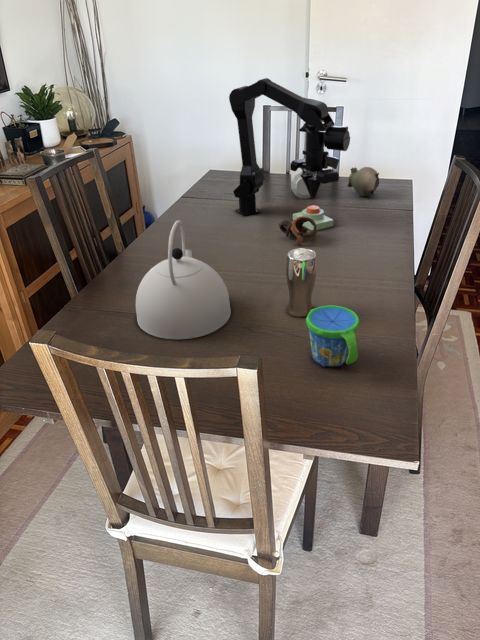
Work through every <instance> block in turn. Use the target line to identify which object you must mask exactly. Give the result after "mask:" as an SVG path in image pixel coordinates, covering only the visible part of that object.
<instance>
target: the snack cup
mask: <svg viewBox="0 0 480 640" xmlns="http://www.w3.org/2000/svg"><path fill="white" fill-rule="evenodd" d="M360 323H361V322H360V319H359V316H358V315H357V313H356V312H355V311H353V310H351V309H350V308H347V307H344V306H341V305H332V304H330V305H329V304H327V305H321V306H318V307H315V308H312V310H311V311H310V312H309V314H308V316H306V318H305V324H306V328H307V329H308V335H309V342H310V350H311V357H312V359H313V361H314V362H316V363H317V364H318V365H320V366H322V367H323V368H325V367H329V368H336V367H341V366H342V365H344V364H346V365H351V364H354V363H355V362H356V361H357V360H358V358H359V353H358V345H357V344H358V343H357V337H356V332H357V330H358V328H359V326H360Z"/></svg>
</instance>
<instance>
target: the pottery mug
mask: <svg viewBox="0 0 480 640" xmlns="http://www.w3.org/2000/svg"><path fill="white" fill-rule="evenodd" d="M307 221H309V222H310V223H311V224H312V225H313V226H314V229H313V231H312V230H311V231H309V230H308V229H309V228H307V227H305V226H303V224H304V222H307ZM278 227H279V229H280V231H281V232H282V233H283V234H285V237H287V238H288V237H291V236H293V235H294V236H295V237H296V240H295V245H297V246H301V245H302V244H305V243H308V242H310V241H312V240H313V239H314V238H315V237H316V236H317V234H318V230H317V229H316V228H317V227H316V223H315V222H314V220H312V219H311V218H309V217H305V216H302V217H298V218H296V219H295V220H292V221H291V220H288V219H282V220H280V221H279V223H278ZM308 231H309V232H308Z"/></svg>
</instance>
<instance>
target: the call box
mask: <svg viewBox="0 0 480 640" xmlns="http://www.w3.org/2000/svg"><path fill="white" fill-rule="evenodd" d="M302 216H305V217H309V218H311V219H312V220H314V222H315V223H316V227H317V228H316V229H317V231H320V230H323V229H328V228H331V227H334V219H333V218H330V217H329V216H327V215H325V212H324V209H321V208H319V213H317V214H309V213H307V208H304V209H302V211H298V212H295V213H292V221H294V220H295V219H296V218H298V217H302ZM302 226H303V227H305V228H307V229H309V230H310V231H311V232H312V231H313V229H314V226H313V225H312V224H311V223H310V222H309V221H307V222H304V224H303V225H302Z"/></svg>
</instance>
